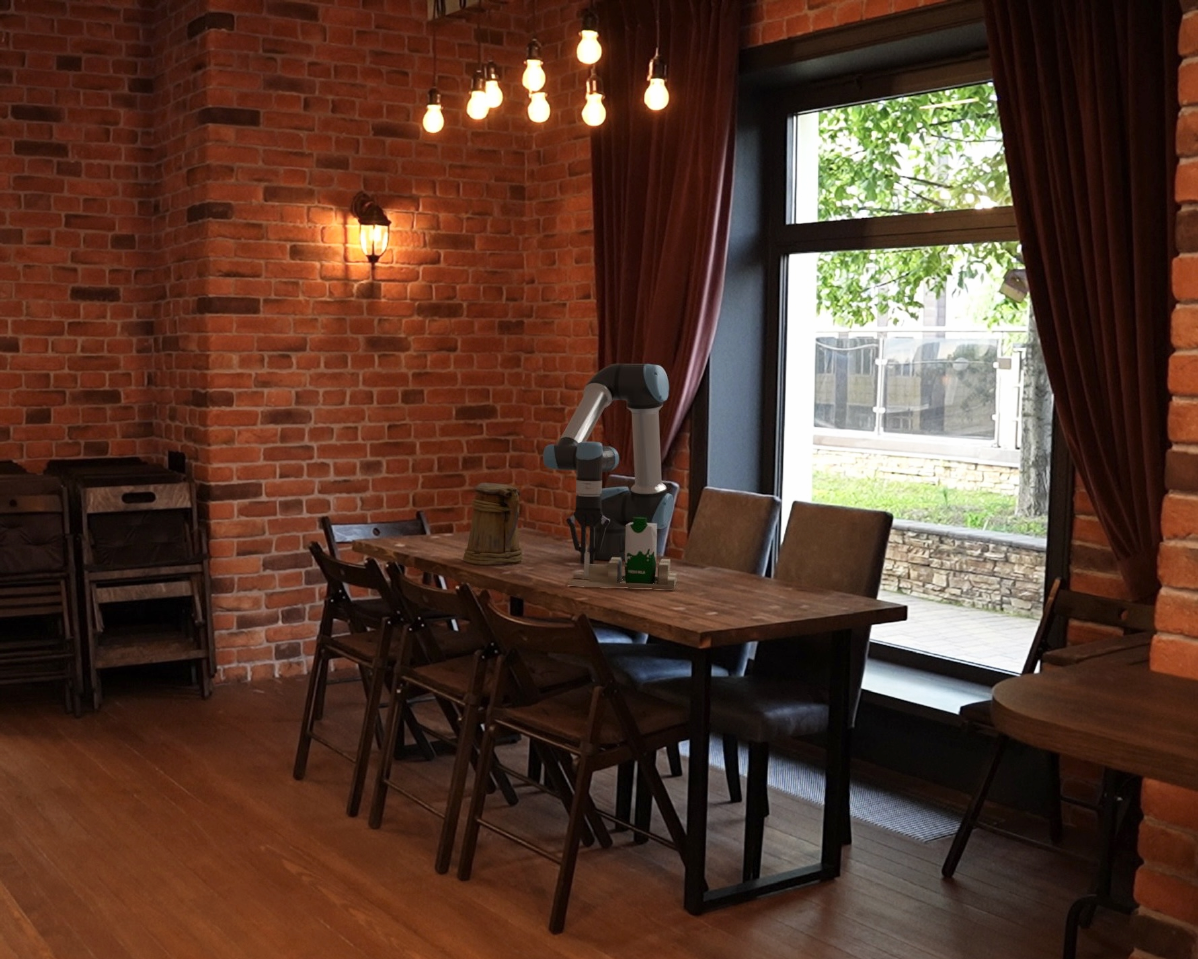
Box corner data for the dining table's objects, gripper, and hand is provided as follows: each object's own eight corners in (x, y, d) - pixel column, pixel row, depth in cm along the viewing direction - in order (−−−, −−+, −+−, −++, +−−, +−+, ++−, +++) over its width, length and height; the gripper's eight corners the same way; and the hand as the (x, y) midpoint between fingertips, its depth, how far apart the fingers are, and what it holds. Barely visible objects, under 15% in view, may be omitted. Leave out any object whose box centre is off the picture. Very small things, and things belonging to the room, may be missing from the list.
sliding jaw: (591, 578, 406) (592, 556, 406) (621, 580, 405) (622, 557, 405) (587, 585, 394) (587, 562, 394) (618, 586, 394) (618, 563, 393)
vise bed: (573, 577, 409) (574, 554, 408) (676, 581, 406) (677, 558, 405) (567, 586, 393) (567, 562, 392) (674, 590, 390) (674, 566, 389)
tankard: (498, 555, 450) (499, 480, 448) (542, 565, 433) (543, 486, 430) (452, 560, 438) (453, 482, 436) (496, 570, 421) (497, 489, 418)
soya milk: (621, 586, 396) (623, 517, 394) (629, 581, 404) (631, 514, 403) (651, 588, 393) (652, 519, 392) (658, 583, 402) (660, 516, 400)
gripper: (564, 495, 395) (563, 576, 397) (609, 496, 394) (607, 577, 396) (568, 492, 403) (566, 572, 405) (612, 494, 401) (610, 573, 403)
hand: (587, 574), depth 400 cm, fingers closed
